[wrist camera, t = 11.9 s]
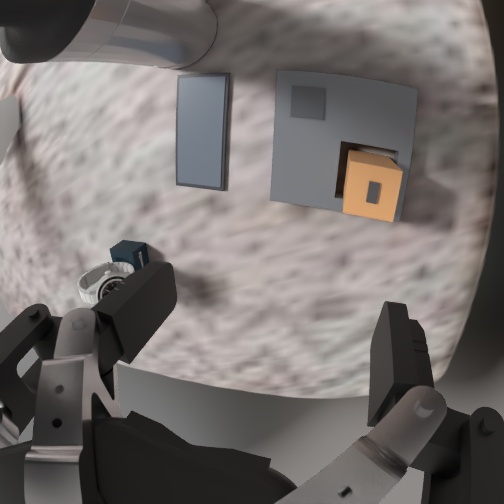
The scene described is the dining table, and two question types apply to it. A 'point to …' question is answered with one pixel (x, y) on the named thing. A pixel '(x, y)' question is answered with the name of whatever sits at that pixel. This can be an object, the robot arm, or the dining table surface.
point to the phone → (202, 130)
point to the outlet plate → (335, 132)
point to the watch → (112, 271)
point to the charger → (371, 185)
